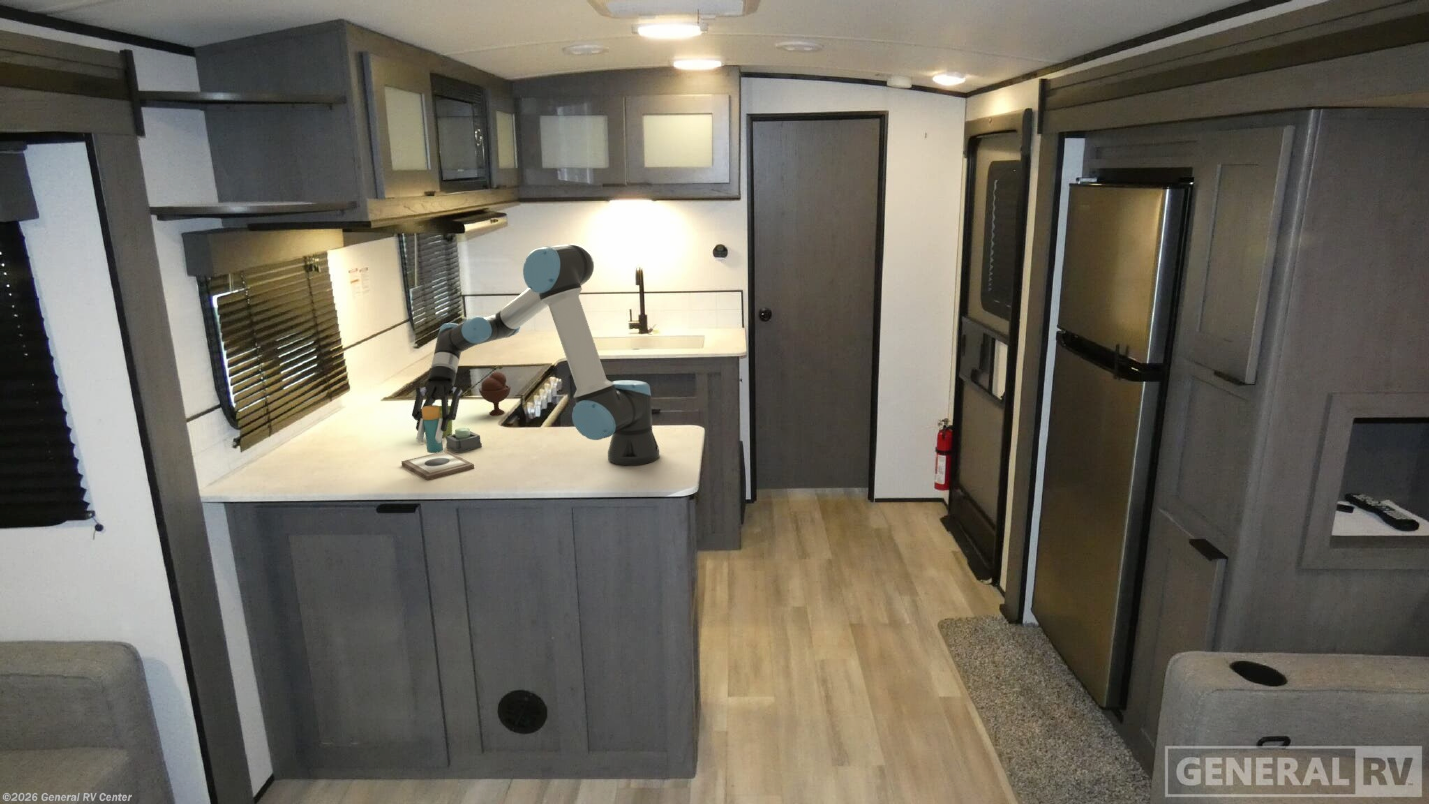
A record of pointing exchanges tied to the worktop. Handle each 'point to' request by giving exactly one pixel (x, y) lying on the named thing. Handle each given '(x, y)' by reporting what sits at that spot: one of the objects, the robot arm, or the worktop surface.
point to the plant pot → (449, 426)
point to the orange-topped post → (431, 428)
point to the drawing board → (437, 465)
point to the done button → (462, 433)
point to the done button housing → (463, 442)
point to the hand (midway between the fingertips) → (428, 440)
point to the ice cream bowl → (495, 391)
